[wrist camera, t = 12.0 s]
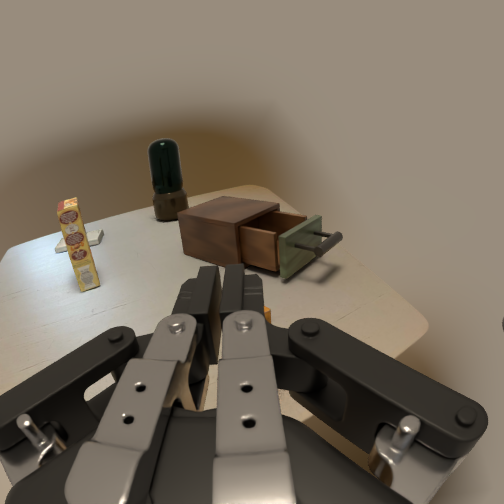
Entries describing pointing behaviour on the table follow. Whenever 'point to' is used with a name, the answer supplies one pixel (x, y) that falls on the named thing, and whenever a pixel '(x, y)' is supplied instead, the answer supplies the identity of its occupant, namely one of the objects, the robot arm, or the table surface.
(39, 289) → the table surface
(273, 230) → the drawer
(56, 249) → the hard drive
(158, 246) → the table surface
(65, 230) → the candy box
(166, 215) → the lamp
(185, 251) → the cabinet
